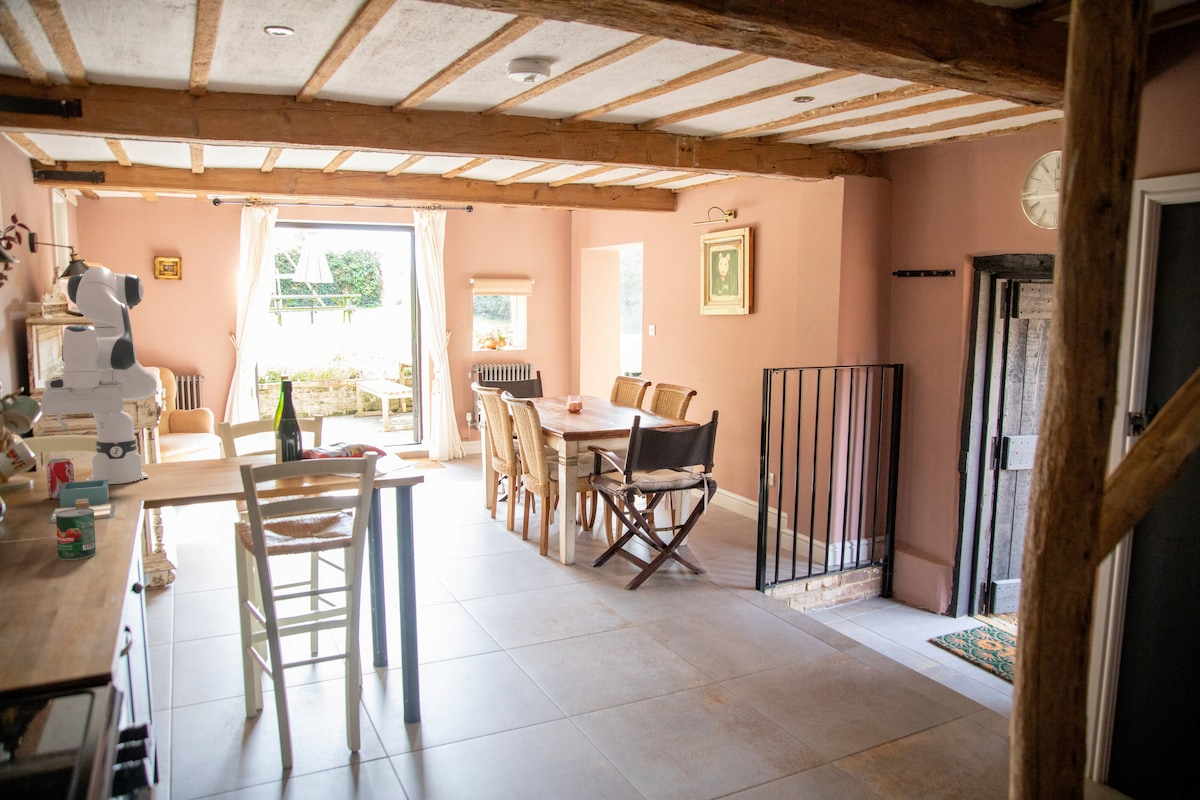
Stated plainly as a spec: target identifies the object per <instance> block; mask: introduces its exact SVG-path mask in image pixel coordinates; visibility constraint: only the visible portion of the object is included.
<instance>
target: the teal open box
mask: <svg viewBox="0 0 1200 800" xmlns="http://www.w3.org/2000/svg"><path fill="white" fill-rule="evenodd" d="M109 491H110V490H109V484H108V479H107V480H93V481H86V480H84V481H83V480H81V481H74V482H65V483H62V486H61V488H60V499H59V506H60V507H59V508H64V507H75V502H76V499H87V498H88V500H89V505H100V504H109V498H110V496H109V494H110V493H109Z"/></svg>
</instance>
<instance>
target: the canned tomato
mask: <svg viewBox="0 0 1200 800" xmlns="http://www.w3.org/2000/svg"><path fill="white" fill-rule="evenodd" d="M55 524H56V541H57V543H56V544H57V559H58V560H59V559H60V561H65V560H71V561H79V559H80V560H85V559H88V557H89V558H91V556H92V557H94V556H95V555H96V554H97V552H96V548H97V547H96V530H95V528H96V527H95V520H94V510H93V509H90V508H77V509H69V510H64V511H60V512H58V513H56V523H55ZM93 555H94V556H93ZM84 558H85V559H84Z"/></svg>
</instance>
